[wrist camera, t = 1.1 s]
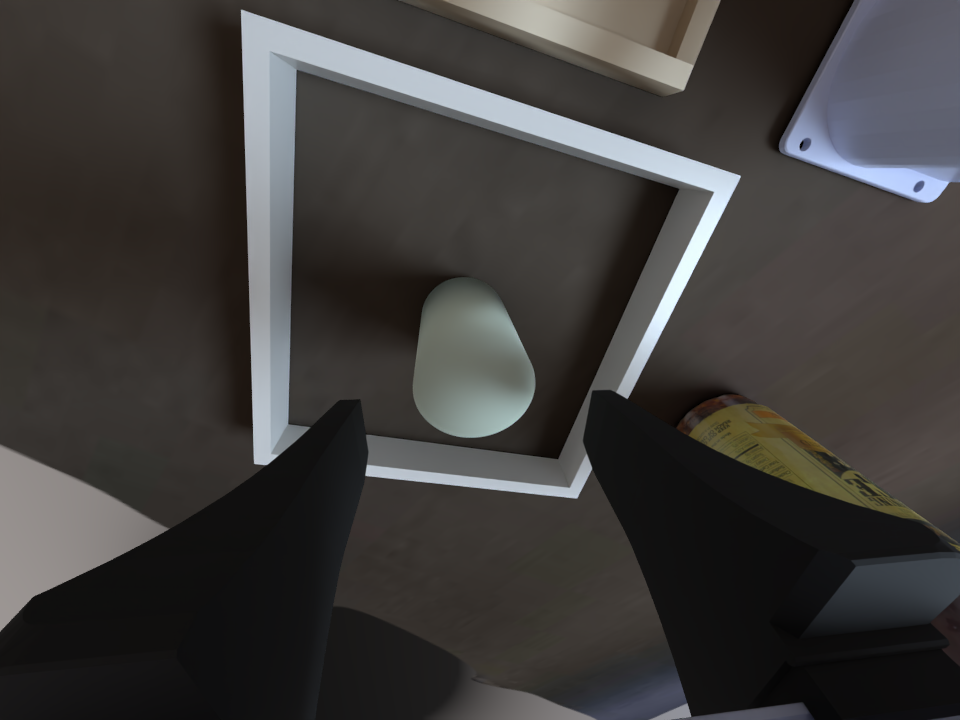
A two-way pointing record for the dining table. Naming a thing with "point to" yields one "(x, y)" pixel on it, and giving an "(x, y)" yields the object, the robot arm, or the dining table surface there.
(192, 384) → the dining table surface
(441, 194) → the dining table surface
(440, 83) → the white hollow square frame
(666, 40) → the birch tray
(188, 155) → the dining table surface
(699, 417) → the sauce bottle
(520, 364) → the sage cylinder
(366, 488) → the dining table surface
